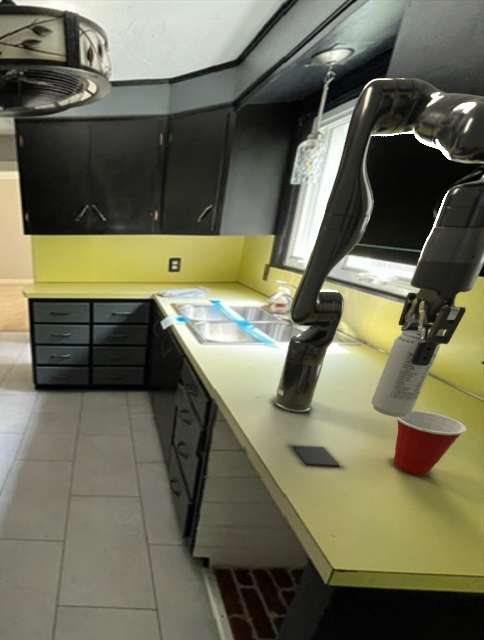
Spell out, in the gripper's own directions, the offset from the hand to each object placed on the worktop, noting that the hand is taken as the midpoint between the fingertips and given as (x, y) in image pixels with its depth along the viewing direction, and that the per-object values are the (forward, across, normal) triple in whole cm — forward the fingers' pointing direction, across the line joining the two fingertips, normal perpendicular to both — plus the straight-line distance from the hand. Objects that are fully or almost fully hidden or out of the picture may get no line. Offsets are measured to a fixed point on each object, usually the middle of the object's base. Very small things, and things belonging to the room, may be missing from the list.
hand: (410, 357), depth 64 cm
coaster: (+27, +6, +7) cm, 29 cm away
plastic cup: (+27, +9, -11) cm, 31 cm away
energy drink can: (+11, 0, 0) cm, 11 cm away
